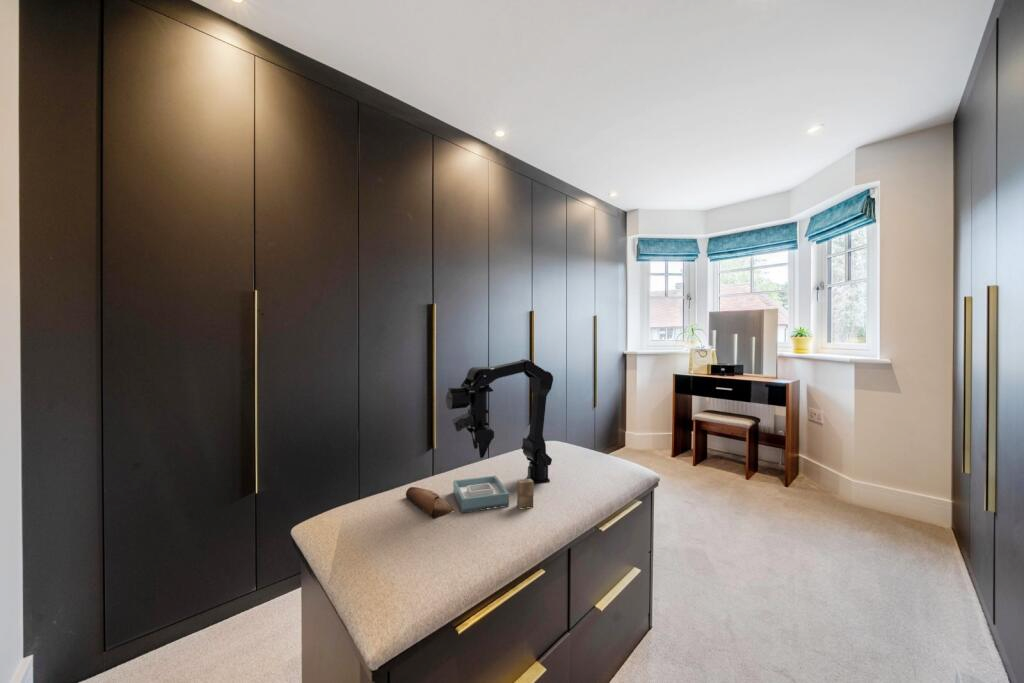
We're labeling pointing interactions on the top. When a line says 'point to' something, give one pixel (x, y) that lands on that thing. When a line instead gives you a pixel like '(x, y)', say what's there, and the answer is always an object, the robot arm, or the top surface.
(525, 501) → the brown wooden block
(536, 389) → the robot arm
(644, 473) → the top surface
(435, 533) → the top surface
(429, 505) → the sunglasses case
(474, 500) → the candle dish
